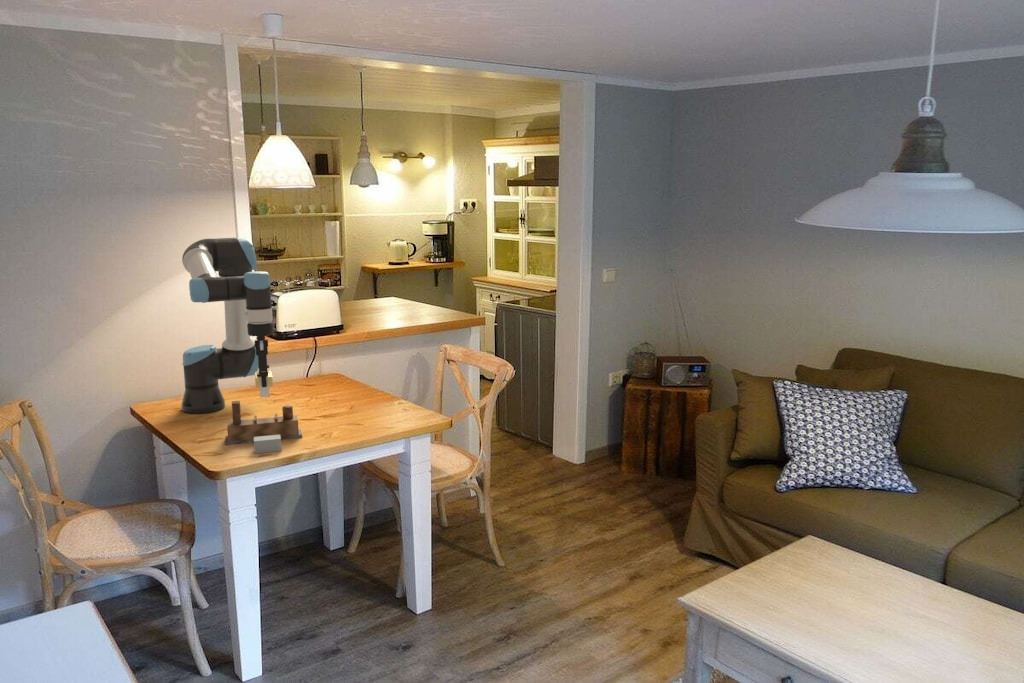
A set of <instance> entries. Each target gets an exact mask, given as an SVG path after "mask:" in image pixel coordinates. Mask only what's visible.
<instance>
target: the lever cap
mask: <svg viewBox="0 0 1024 683" xmlns="http://www.w3.org/2000/svg"><path fill="white" fill-rule="evenodd" d="M262 372H266V371H262ZM272 373H273V372H272V370H268V380H269V388H271V387H274V385H273V383H274V381H273V374H272ZM257 375H259V371H257V372H255V375H254V381H255V382H254V383H255V384H254V385H255V388H256V389H257V388H259V389H260V385H259V377H257Z"/></svg>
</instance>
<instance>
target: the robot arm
mask: <svg viewBox="0 0 1024 683" xmlns="http://www.w3.org/2000/svg"><path fill="white" fill-rule="evenodd" d="M181 260H182V265H183V267H184V269H185V270H186V271H187V272H188V273H189V275H190V280H189V282H188V290H189V296H190V297H189V298H190V300H191V302H192V303H202V304H204V303H216V302H223V304H224V321H225V324H224V325H225V326H224V328H225V339H224V340H223V342H222V343H221V348H217V347H216V345H214V344H204V345H197V346H194V347H191V348H188V349H186V350H185V351H184V352H183V353H182V363H181V364H182V366H183V377H184V393H183V397H182V401H181V412H183V413H187V414H195V415H196V414H206V413H207V414H209V413H212V412H213V413H214V412H217V411H221V410H223V409H224V408H225V407H226V401H225V397H224V396H223V393H222V391H221V390H220V385H219V380H229V379H236V378H238V379H239V378H246V377H252V376H255V372H259V375H257V377H259V385H260V388H259V396H260V398H269V397H270V396H271V395H270V387H269V380H268V371H269V370H268V369H270V364H268V359H267V356H268V354H269V351H268V349H269V348H268V347H269V340H268V339H266V336H271V335H273V334H274V323H273V322H272V321H273V319H274V318H273V317H274V316H273V308H272V293H271V290H272V288H271V285H272V282H271V279H270V274H269V272H267V271H261V270H260V271H255V270H257V269H258V262H257V257H256V252H255V248H254V245H253V242H252V240H251V239H250V238H247V237H237V236H236V237H223V238H222V237H221V238H217V237H216V238H203V239H199V240H197V241H195V242H193V243H191V244H190V245H189V246H188V247H187V248H186V249H185V250H184V252H183V254H182V258H181ZM217 272H218V273H217ZM251 337H256V338H255V339H254V340H253V339H252V338H251ZM262 371H266V372H262Z"/></svg>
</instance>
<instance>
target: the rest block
mask: <svg viewBox="0 0 1024 683" xmlns="http://www.w3.org/2000/svg"><path fill="white" fill-rule="evenodd" d="M253 448H254V449H253V450H254V454H262V453H273V452H282V439H281V437H280V435H270V436H259V437H254V442H253Z"/></svg>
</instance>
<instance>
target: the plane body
mask: <svg viewBox="0 0 1024 683" xmlns="http://www.w3.org/2000/svg"><path fill="white" fill-rule="evenodd" d="M293 409H294V408H293V406H292V405H284V406H282V415H281V416H279V415H278V413H274V416H272V417H261V418H258V416H257V415H258V414H257V415H253V418H251V419H242V416H241V415H242V414H241V413H242V412H241V401H240V400H235V401H231V414H232V420H228V421H227V422H226V427H227V429H226V430H227V435H225V438H224V446H228V445H237V444H249V443H254V437H259V436H270V435H280V437H281V440H289V439H298V438H303V433H302V429H301V428H299V418H298V414H294V411H293Z"/></svg>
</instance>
